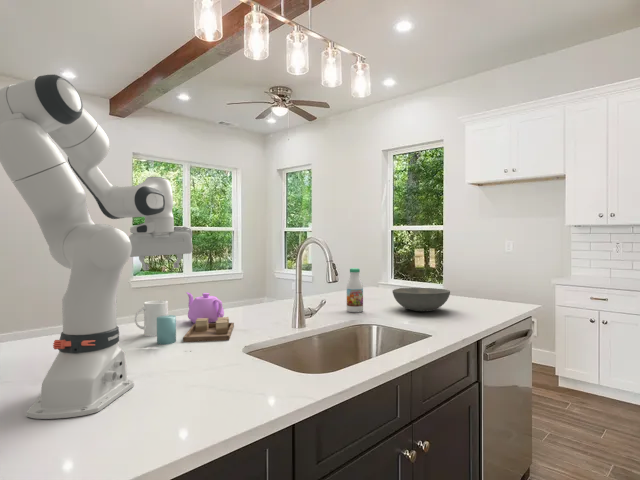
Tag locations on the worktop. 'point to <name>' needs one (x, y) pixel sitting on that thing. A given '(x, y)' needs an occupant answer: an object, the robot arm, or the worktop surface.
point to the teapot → (205, 308)
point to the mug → (152, 315)
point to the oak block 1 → (201, 324)
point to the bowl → (421, 298)
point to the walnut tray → (207, 334)
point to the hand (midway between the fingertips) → (161, 268)
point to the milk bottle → (354, 292)
